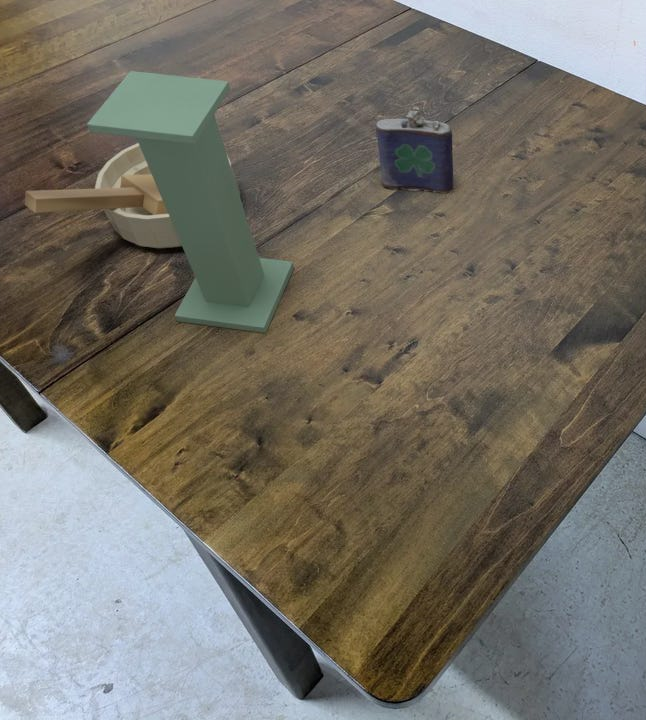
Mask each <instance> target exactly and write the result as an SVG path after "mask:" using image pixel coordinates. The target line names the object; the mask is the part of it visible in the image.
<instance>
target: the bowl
mask: <svg viewBox="0 0 646 720" xmlns="http://www.w3.org/2000/svg"><path fill="white" fill-rule="evenodd" d="M227 157H228V160H229V163H230V167H231V170H232V173H233V176H234V179H235V183H236V186H237V189H238V192H239V195H240V196H241V190H240V186H239V184H238V181H237V178H236V175H235V172H234V169H233V165H232V162H231V160H230V158H229V155H227ZM122 175H152V174H151V171H150V169H149V167H148V164H147V162H146V160H145V157H144V155H143V153H142V150H141V148H140V146H139V143H138V142H136V143H135V144H133V145H131V146H128V147H125V148H124V149H121V151H119V152H118V153H117V154H115V155H114V156H113V157H111V158H110V159H109V160H107V162H106V163H105V164H104V166H103V167H102V168H101V169H100V170H99V172H98V174H97V178H96V181H95V184H94V189H98V188H120V186H121V177H122ZM103 211H104V213H105V215H106V217H107V219H108V221H109V222H110V225H111V227H112V229H113V230H114V231H115V232H116V233H117V234H118V235H119V236H120V237H121V238H122V239H123V240H126V241H128V242H130V243H132V244H134V245H137V246H139V247H144V248H145V247H146V248H147V247H148V248H154V249H167V248H179V247H182V245H181V242H180V240H179V238H178V235H177V233H176V230H175V228H174V226H173V223H172V221H171V219H170V216H169V214H159V215H153V214H152V213H150V212H149V211H148V210H146V209H145V208H143V207H132V208H115V209H103Z"/></svg>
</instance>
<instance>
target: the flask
mask: <svg viewBox="0 0 646 720" xmlns="http://www.w3.org/2000/svg"><path fill="white" fill-rule="evenodd" d="M408 110H409V111H408V113H407V114H406V115H405V118H383V119H380V120H378V122H376V124H375V135H376V137H377V139H376V140H377V148H378V157H379V158H378V160H379V165H380V176H381V177H380V178H381V183H382V186H383V188H387V189H390V190H393V191H394V190H395V191H397V190H405V191H411V192H417V191H424V192H433V193H440V194H446V193H449V192H453V188H454V187H453V186H454V158H453V157H454V156H453V131H452V128H451V126H450V124H447V123H445V122H440V121H437V120H427V119H426V118H425V117H424V116H422V115H418V113H419V111H420V108H419V107H417V106H414V107H409V108H408Z"/></svg>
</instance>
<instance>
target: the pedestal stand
mask: <svg viewBox="0 0 646 720" xmlns="http://www.w3.org/2000/svg"><path fill="white" fill-rule="evenodd" d="M230 91H231V85H230V83H229V81H228V80H220V79H211V78H210V79H209V78H201V77H190V76H180V75H173V74H172V75H171V74H163V73H154V72H143V71H134V70H129V72H128V73H127V74H126V76H125V77H124V78H123V79H122V81H121V82H120V83H119V84H118V85H117V86H116V88H115V89H114V90H113V91H112V93H111V94H110V95H109V96H108V97H107V99H106V100H105V101H104V103H103V104H102V105H101V106H100V107H99V109H98V110H97V111H96V112H95V114H94V115H93V116H92V117H91V118H90V119H89V121H88V122H87V123H86V126H87V128H88V129H89V132H90V133H96V134H104V135H113V136H122V137H129V138H135V139H136V140H137V143H139V146H140V148H141V150H142V153H143V155H144V157H145V160H146V162H147V164H148V167H149V169H150V171H151V174H152V176H153V179H154V181H155V183H156V186H157V188H158V190H159V193H160V195H161V197H162V200H163V202H164V205H165V207H166V209H167V212H168V214H169V216H170V219H171V221H172V223H173V226H174V228H175V230H176V233H177V235H178V238H179V240H180V242H181V245H182V246H181V247H182V250H183V251H184V254H185V257H186V259H187V262H188V263H189V266H190V268H191V271H192V273H193V276H194V278H193V281H192V283H191V285H190V287H189V288H188V290H187V292H186V293H185V296H184V297H183V299H182V301H181V303H180V305H179V306H178V308H177V310H176V312H175V313H174V318H175V320H176V322H180V323H185V324H186V323H188V324H194V325H201V326H202V325H203V326H210V327H215V328H216V327H217V328H224V329H231V330H239V331H246V332H252V333H253V332H254V333H259V334H260V333H261V334H267V332H268V329H269V327H270V324H271V322H272V319H273V317H274V316H275V313H276V311H277V309H278V306H279V305H280V302H281V299H282V297H283V295H284V292H285V290H286V287H287V285H288V284H289V281H290V278H291V276H292V274H293V272H294V269H295V265H294V262H293V261H291V260H289V261H288V260H281V259H272V258H264V257H260V256H259V252H258V250H257V246H256V244H255V243H256V242H255V240H254V237H253V234H252V230H251V227H250V224H249V221H248V217H247V215H246V212H245V208H244V205H243V201H242V198H241V194H240V195H239V192H238V189H237V186H236V183H235V179H234V176H233V173H232V170H231V167H230V163H229V160H230V159H229V160H228V158H229V156H228V153H227V150H226V148H225V145H224V141H223V138H222V135H221V131H220V129H219V125H218V122H217V120H216V116H215V114H216V112H217V111H218V109H219V108H220V106H221V105H222V103H223V102H224V100H225V99H226V96H227V95H228V94H229V93H230ZM227 156H228V157H227Z"/></svg>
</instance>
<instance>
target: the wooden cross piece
mask: <svg viewBox="0 0 646 720" xmlns="http://www.w3.org/2000/svg"><path fill="white" fill-rule="evenodd" d="M24 206H25V207H27V208H28V209H29V210H30V211H32V212H33V213H34V214H44V213H61V212H78V211H95V210H97V211H99V210H104V209H115V208H132V207H143V208H145V209H146V210H148V211H149V212H150V213H152V214H153V215H159V214H168V212H167V209H166V207H165V205H164V202H163V200H162V197H161V195H160V193H159V190H158V188H157V186H156V183H155V181H154V179H153V176H152V175H122V177H121V186H120V188H98V189H95V188H74V189H73V188H72V189H71V188H70V189H42V190H41V189H40V190H37V189H36V190H25V192H24Z"/></svg>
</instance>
